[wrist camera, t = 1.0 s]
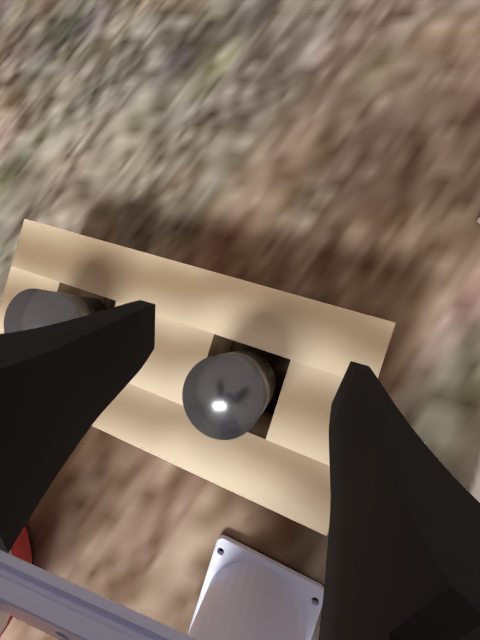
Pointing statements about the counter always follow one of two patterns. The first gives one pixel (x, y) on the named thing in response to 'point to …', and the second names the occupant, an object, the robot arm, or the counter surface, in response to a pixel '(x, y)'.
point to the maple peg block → (209, 340)
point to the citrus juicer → (22, 552)
